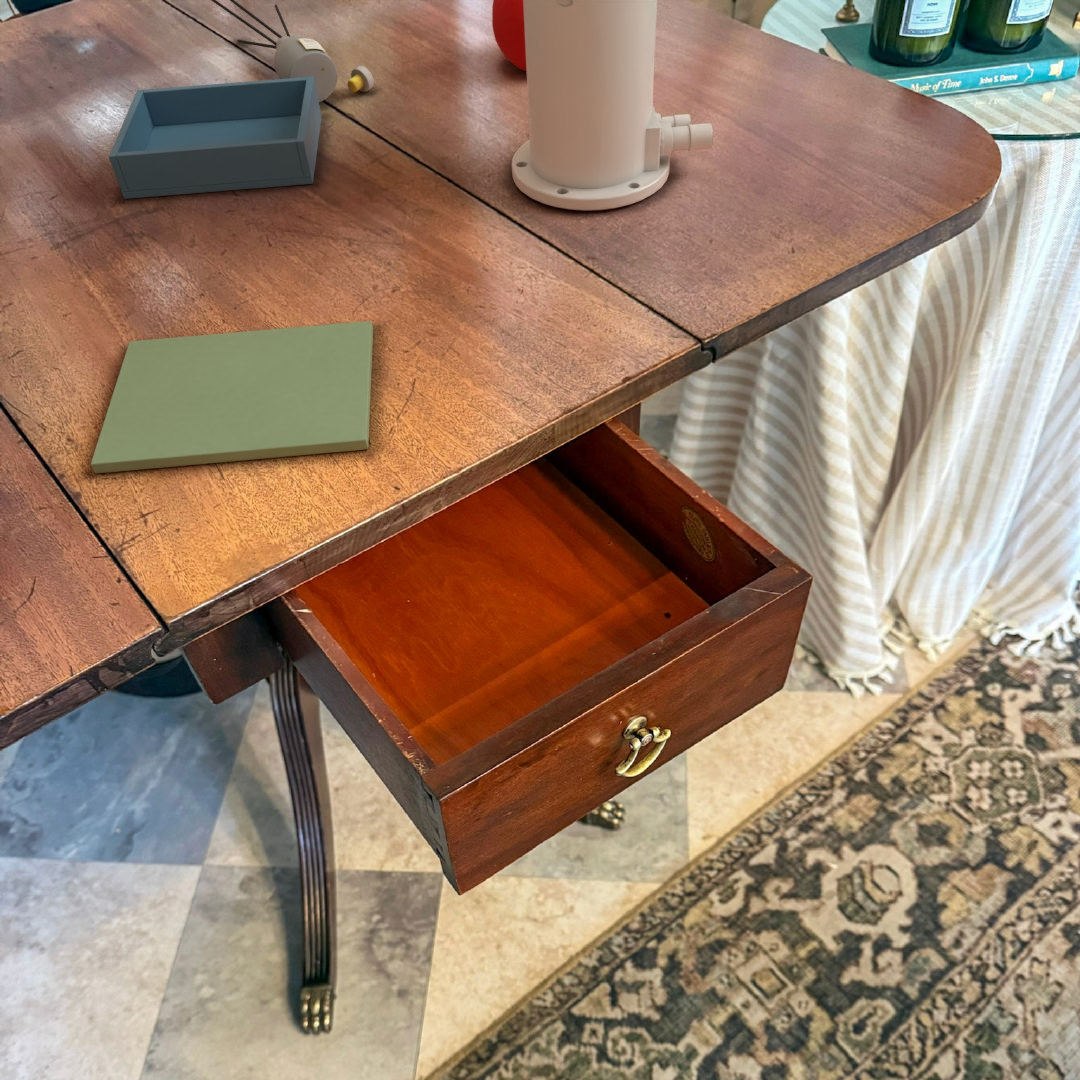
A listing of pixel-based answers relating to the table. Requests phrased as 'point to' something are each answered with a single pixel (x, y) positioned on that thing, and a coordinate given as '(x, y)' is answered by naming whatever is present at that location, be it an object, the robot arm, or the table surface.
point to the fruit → (510, 30)
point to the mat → (239, 397)
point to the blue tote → (218, 138)
